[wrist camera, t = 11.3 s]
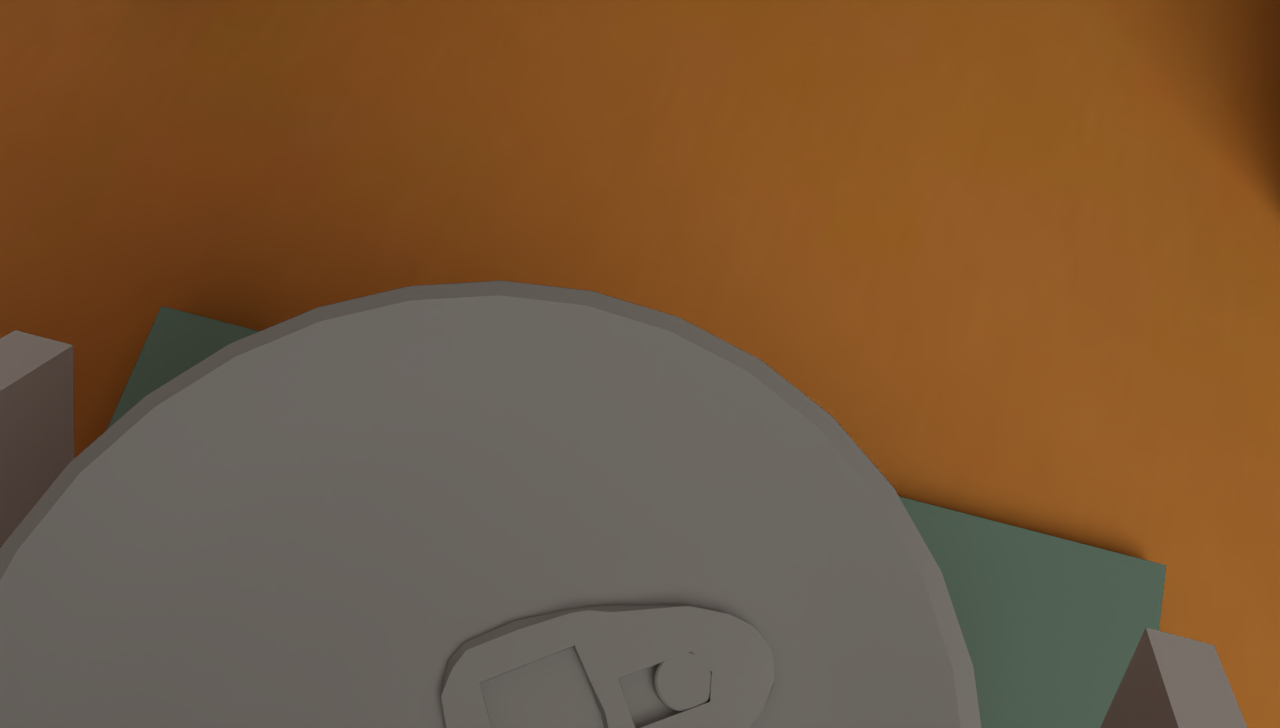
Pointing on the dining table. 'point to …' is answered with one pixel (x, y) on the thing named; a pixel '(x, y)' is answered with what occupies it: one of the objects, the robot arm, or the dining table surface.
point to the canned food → (477, 538)
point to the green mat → (967, 556)
